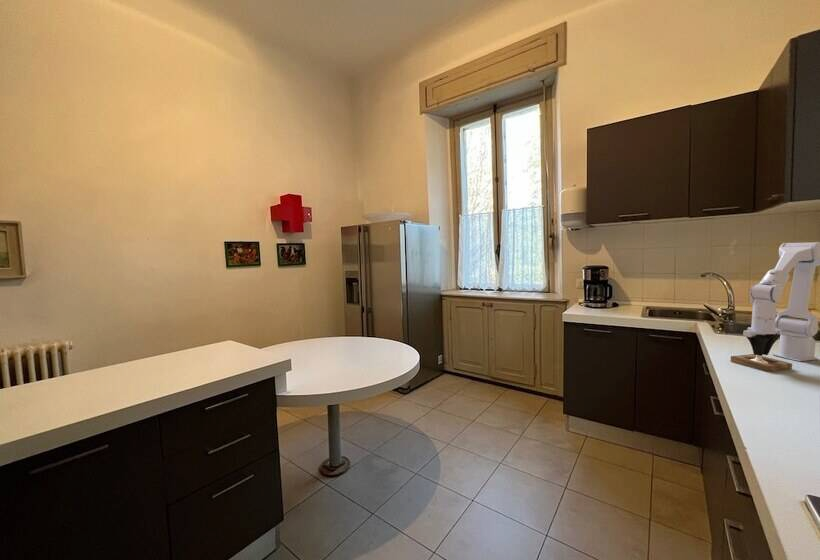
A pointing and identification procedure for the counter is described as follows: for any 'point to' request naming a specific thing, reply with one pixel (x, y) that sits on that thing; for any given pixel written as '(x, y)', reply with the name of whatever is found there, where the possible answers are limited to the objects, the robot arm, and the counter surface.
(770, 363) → the socket board
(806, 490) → the counter surface
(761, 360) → the chess piece
